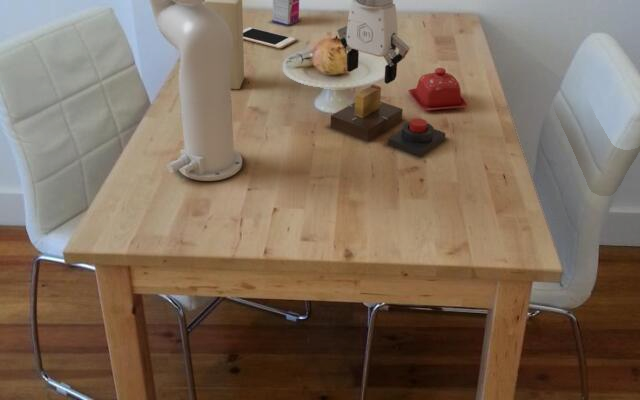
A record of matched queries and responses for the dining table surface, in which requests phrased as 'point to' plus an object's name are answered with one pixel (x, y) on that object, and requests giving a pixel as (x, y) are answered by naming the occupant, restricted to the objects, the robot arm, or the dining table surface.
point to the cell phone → (267, 37)
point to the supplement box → (285, 11)
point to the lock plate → (366, 121)
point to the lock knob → (367, 101)
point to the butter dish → (438, 91)
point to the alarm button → (418, 125)
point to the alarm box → (416, 140)
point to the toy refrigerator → (230, 9)
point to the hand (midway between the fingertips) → (370, 75)
